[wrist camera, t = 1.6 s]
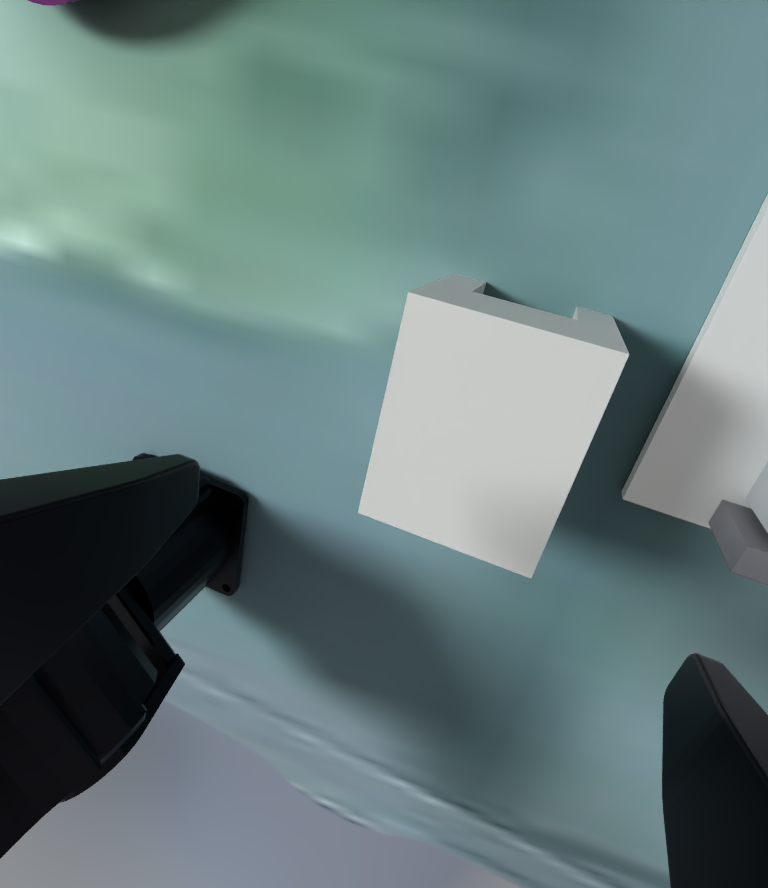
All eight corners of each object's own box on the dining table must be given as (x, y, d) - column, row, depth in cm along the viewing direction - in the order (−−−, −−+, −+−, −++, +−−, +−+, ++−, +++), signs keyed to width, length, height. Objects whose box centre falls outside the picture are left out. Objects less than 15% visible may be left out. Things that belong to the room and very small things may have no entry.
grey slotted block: (543, 489, 21) (534, 579, 15) (409, 443, 22) (357, 512, 17) (615, 316, 18) (633, 355, 12) (454, 273, 19) (408, 292, 13)
